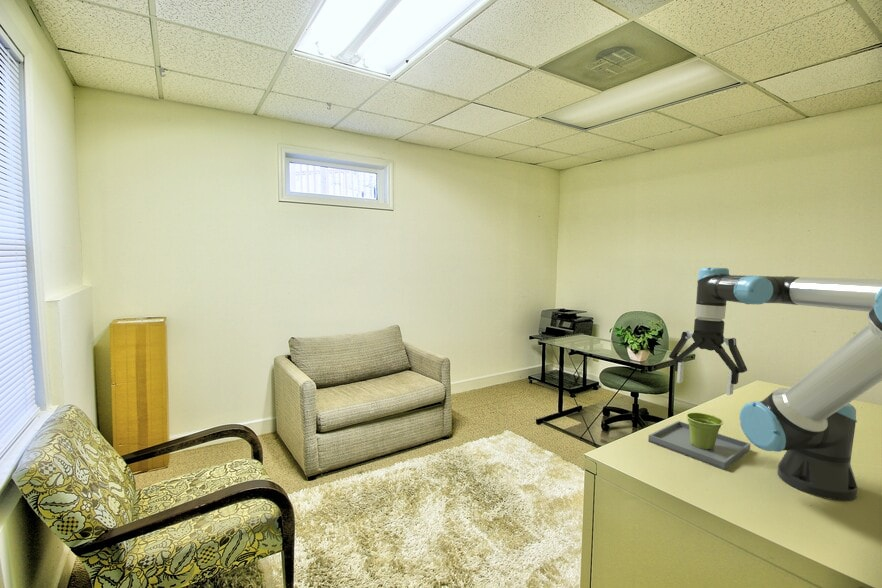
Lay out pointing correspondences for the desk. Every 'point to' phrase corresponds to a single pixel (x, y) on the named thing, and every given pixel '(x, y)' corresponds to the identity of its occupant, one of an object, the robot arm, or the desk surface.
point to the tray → (720, 456)
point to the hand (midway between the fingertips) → (703, 388)
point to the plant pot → (703, 429)
